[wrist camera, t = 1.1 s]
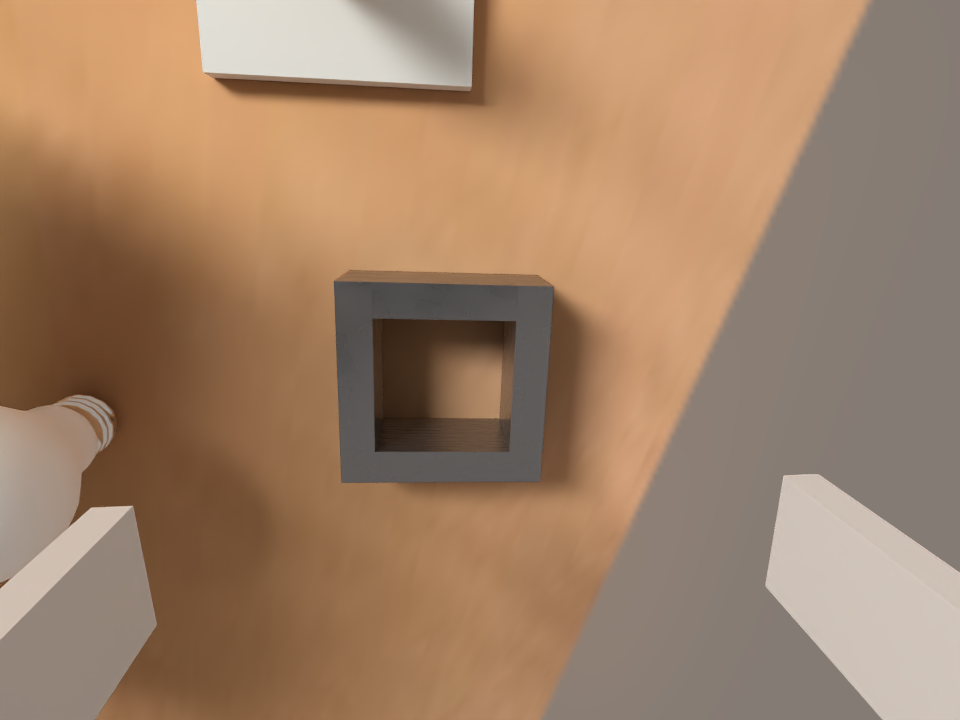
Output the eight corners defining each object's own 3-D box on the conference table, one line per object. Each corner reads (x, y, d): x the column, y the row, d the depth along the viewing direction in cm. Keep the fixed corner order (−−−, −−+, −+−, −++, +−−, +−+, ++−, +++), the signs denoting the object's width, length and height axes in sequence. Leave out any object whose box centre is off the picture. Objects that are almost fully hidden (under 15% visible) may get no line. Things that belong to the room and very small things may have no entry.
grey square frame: (354, 445, 28) (341, 482, 24) (349, 270, 26) (333, 281, 22) (526, 445, 29) (540, 481, 25) (537, 275, 26) (554, 286, 23)
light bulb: (153, 349, 26) (-40, 445, 16) (177, 474, 28) (18, 637, 17) (7, 354, 26) (-294, 457, 15) (41, 481, 27) (-207, 652, 17)
